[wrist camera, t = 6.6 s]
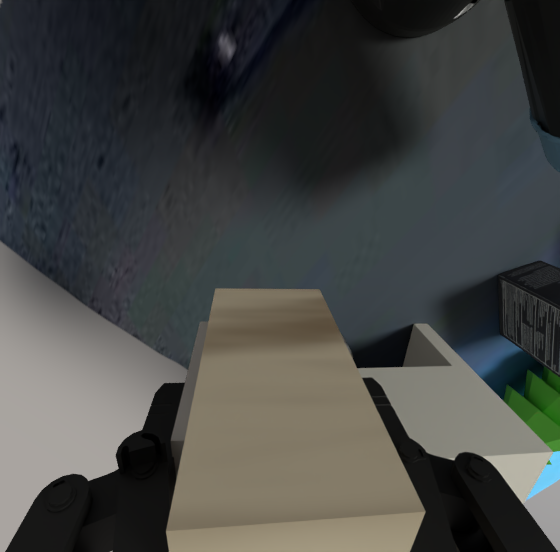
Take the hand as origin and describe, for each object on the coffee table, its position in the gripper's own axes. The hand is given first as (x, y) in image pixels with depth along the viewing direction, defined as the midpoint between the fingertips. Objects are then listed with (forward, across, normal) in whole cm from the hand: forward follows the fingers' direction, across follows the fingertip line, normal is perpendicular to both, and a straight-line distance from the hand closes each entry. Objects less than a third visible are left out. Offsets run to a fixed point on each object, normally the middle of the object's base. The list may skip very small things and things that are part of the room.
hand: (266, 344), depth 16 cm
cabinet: (+23, +17, -20) cm, 35 cm away
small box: (+23, +38, -9) cm, 45 cm away
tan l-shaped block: (0, 0, -7) cm, 8 cm away
